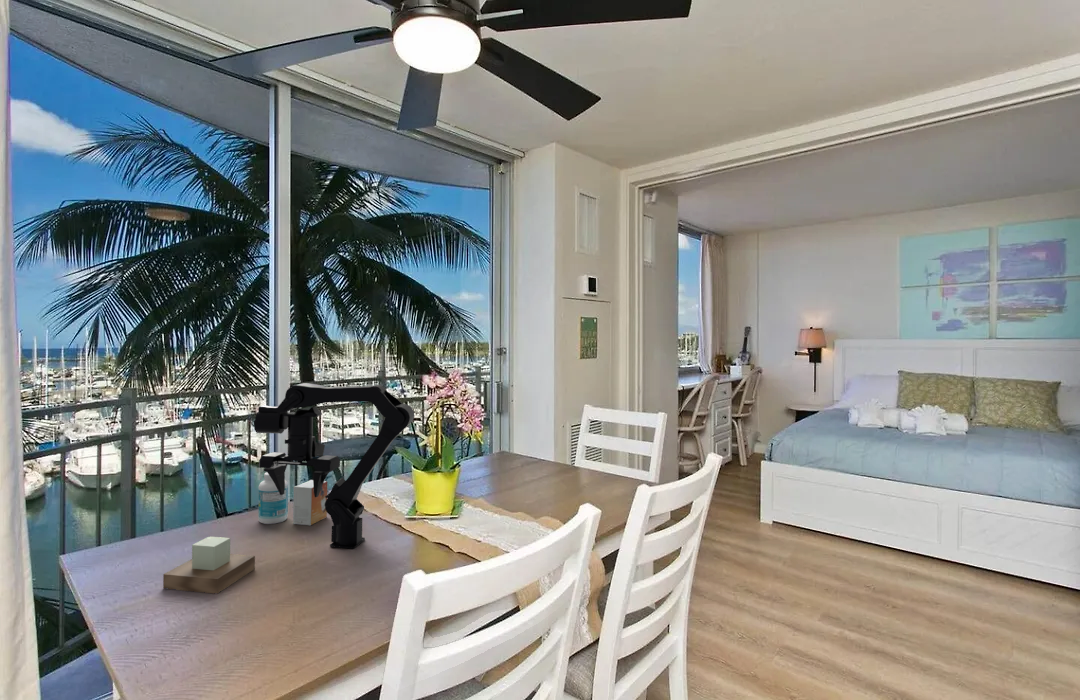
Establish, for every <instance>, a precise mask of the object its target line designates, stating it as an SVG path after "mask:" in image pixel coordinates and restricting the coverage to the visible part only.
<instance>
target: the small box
mask: <svg viewBox="0 0 1080 700" xmlns="http://www.w3.org/2000/svg"><path fill="white" fill-rule="evenodd" d="M327 495H328V481H326V480H324V483H323V485H322V488H321V491H320V493H319V496H318V497H315V496H314V486H313V479H309V480H308V481H306V482H303V483H300V484H298V485H295V486H293V507H292V508H293V509H292V510H293V514H292V515H293V517H292V518H293V519H292V524H293V525H301V526H312V525H314V524H316V523H318V522H320V521H321V520H324V519H326V518H327V517H328V516H327V514H328V513H327V511H326V509H325V502H326V500H327V498H325V496H327Z"/></svg>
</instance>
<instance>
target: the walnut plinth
mask: <svg viewBox="0 0 1080 700" xmlns="http://www.w3.org/2000/svg"><path fill="white" fill-rule="evenodd" d="M255 564H256V555H250V554H249V555H248V554H237V553H230V561H229V562H227V563H226V564H224V565H222V566H220V567H219V568H217V569H215V570H203V569H192V558H191V559H190V560H188V561H185V562H184V563H182V564H180V565H179V566H176V567H174V568H172V569H170V570H169V571H167V572H165V573H163V575H162V576H163V577H162V581H163V582H162V583H163V585H162V587H163V588H168V589H167V590H172V589H176V590H175V591H183V592H184V591H185V592H193V591H194V593H204V592H205V593H206V594H214V593H217V594H219V593H220V591H221V592H222V591H224V590H225V589H227V588H228V587H229V586H232V585H233V584H234V583H236V582H237V581H239V580H241V579H242V578H243V577H245V576H246V575H248V574H249V573H251V572H253V571H255V569H256V565H255Z"/></svg>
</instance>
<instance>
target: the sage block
mask: <svg viewBox="0 0 1080 700" xmlns="http://www.w3.org/2000/svg"><path fill="white" fill-rule="evenodd" d="M191 546H192V547H191V559H192V569H203V570H215V569H217V568H219V567H220V566H222V565H224V564H226V563H227V562H229V561H230V554H231V538H230V537H223V536H222V537H220V536H210V535H209V536H207V537H205V538H204V539H201V540H199V541H197V542H195V543H193V544H192V545H191Z"/></svg>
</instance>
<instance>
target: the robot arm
mask: <svg viewBox="0 0 1080 700" xmlns="http://www.w3.org/2000/svg"><path fill="white" fill-rule="evenodd" d="M284 396H285V397H284V399H283V400H282V401H281V403H280V404H279V405H278V406H270V405H260V406H258V411H257V412H256V414H255V418H254V419H253V428H254V430H255V431H254V432H256V433H257V434H283V433H284V431H285V430H287V438H285V439H284V444H286V445H287V454H286V453H285V452H275V451H273V452H270V453H266V454H264V455H261V457H260V458H259V459H258V460H259V461H258V467H259V468H261V469H262V468H263V472H267V473H268V474H269V476H270V477H271V479H272V480H273V482H274V484H275V486H276V487H277V489H278V491H279V493H280V495H283V494H284V491H285V480H286V477H285V475H286V474H285V473H286V470H287V467H288V466H303V467H305V466H306V467H313V469H314V470H315V471H313V472H312V480H313V486H314V496H315V497H318V496H319V493H320V491H321V488H322V485H323V483H324V481H326V478H327V476H328V475H329V474H330V473H331V472H333V471H335V469H338V468H340V467H341V460H340V458H339V456H338V455H324V453H325V452H324V451H325V446H326V445H325V444H323V443H320V442H318V441H317V439H316V436H313V435H314V433H313V432H314V428H313V427H314V425H313V424H314V418H317V417H320V416H322V412H321V411H320V410H319V409H318V408H317V407H316V405H320V404H325V403H355V402H371V403H372V405H374V407H375V408H376V409H377V411H378V412H379V413H380V414H381V416H383V417H384V419H383V422H382V425H381V426H380V430H379V432H378V435H377V436H376V437H375V439H374V440H373V442H372V443H371V445H370V446H369V448H368V449H367V450H366V452H365V453H364V455H363V456H362V458H361V459H360V460H359V462H358V463H357V464H356V466H355V467H354V468H353V470H352V472H351V473H350V474H349V476H348V477H347V479H346V480H345V478H343V477H341V478H340V479H338V480H337V481H336V482H335V483H334V484H333V486H332V488H331V490H330V492H329V493H327V496H325V498H327V500H326V502H325V509H326V511H327V514H328V515H329V516H330V518H331V521H332V525H331V538H330V539H331V543H330V544H329V547H330V548H340V549H341V548H342V549H356V548H357V547H358V546H359V545H360V544H362V543H363V542H364V541H365V540H366V538H365V537H363V517H360V516H361V515H362V514H363V512H364V510H365V506H364V505H363V503H362V502H361V501H359V500H358V499H357V498H358V496H359V494H360V492H361V489H362V486H363V484H364V482H365V481H366V480H367V478H368V476H369V475H370V474H371V472H372V471H373V469H374V468H375V467H376V465H377V464H378V462H379V461H380V460H381V458H382V456H383V455H384V454H385V452H386V451H387V450H388V448H389V447H390V445H391V444H392V442H393V441H394V440H395V439H396V438H397V437H398V436H399V435H400V434H401V433H402V432H403V431H404V430H405V429H406V428H407V427H408V426H409V425H410V424H411V423H412V422H413V421H414V418H415V412H414V408H413V407H411V406H410V405H408V404H407V403H403V402H402V401H400V400H399V399H398V398H397V397H395V395H393V394H391V393H390V392H389V391H387V390H386V389H385V388H384V386H382V385H380V384H375V385H363V386H361V385H357V386H356V385H355V386H325V385H321V384H316V383H308V382H303V383H299V384H294V385H291V386H290V387H288V389H286V391H285V395H284ZM306 407H310V408H307V409H305V408H306ZM301 408H302V409H301ZM295 409H297V410H296V411H295V412H290V411H292V410H295ZM316 457H318V458H316Z"/></svg>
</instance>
